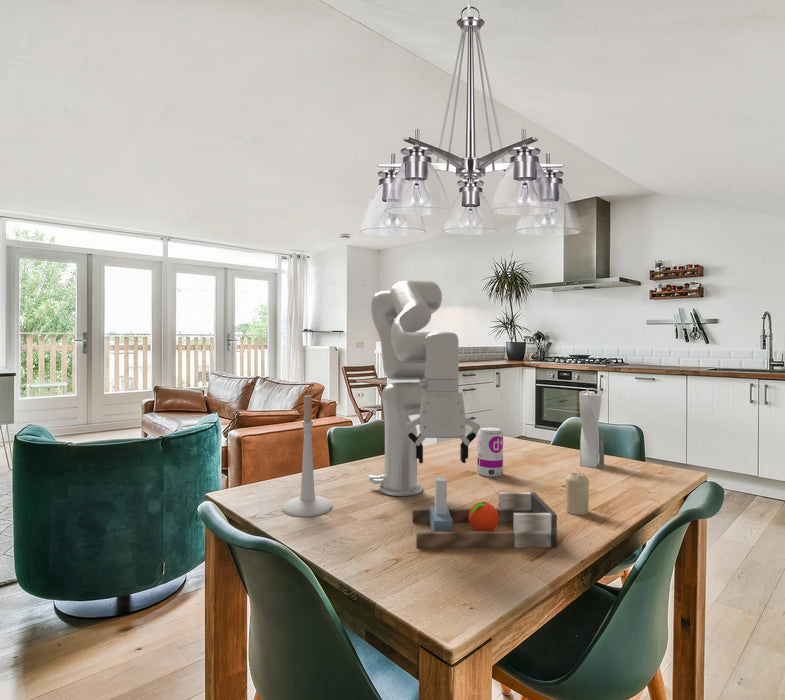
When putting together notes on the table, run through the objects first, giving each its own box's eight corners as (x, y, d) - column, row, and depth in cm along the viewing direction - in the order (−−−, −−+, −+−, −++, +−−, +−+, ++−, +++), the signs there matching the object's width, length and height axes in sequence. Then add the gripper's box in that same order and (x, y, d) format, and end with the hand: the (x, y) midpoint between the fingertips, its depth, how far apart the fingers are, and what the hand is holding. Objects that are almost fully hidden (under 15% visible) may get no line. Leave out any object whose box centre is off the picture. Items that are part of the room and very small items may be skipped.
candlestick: (279, 503, 133) (279, 392, 132) (326, 497, 137) (326, 390, 137) (286, 519, 121) (286, 397, 120) (337, 513, 125) (337, 395, 125)
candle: (582, 507, 130) (583, 470, 130) (592, 515, 125) (592, 476, 124) (562, 507, 130) (562, 470, 130) (570, 515, 124) (571, 476, 124)
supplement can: (507, 476, 160) (508, 430, 159) (485, 478, 157) (486, 431, 156) (493, 469, 167) (494, 425, 167) (472, 472, 164) (473, 427, 164)
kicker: (434, 540, 108) (434, 485, 107) (429, 523, 118) (430, 473, 117) (452, 540, 108) (452, 485, 107) (446, 523, 118) (446, 473, 117)
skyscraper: (600, 470, 168) (601, 388, 167) (575, 467, 172) (577, 387, 172) (604, 465, 175) (605, 386, 174) (580, 462, 179) (581, 385, 179)
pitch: (416, 547, 105) (416, 515, 105) (412, 520, 120) (412, 492, 120) (556, 547, 105) (556, 514, 105) (534, 520, 121) (534, 492, 121)
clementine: (482, 542, 108) (482, 510, 107) (458, 533, 113) (459, 502, 113) (505, 533, 113) (505, 502, 112) (481, 524, 118) (481, 495, 118)
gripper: (404, 388, 108) (404, 466, 108) (483, 387, 108) (483, 465, 108) (403, 385, 115) (403, 458, 115) (476, 385, 116) (476, 458, 116)
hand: (441, 461), depth 112 cm, fingers open, 9 cm apart
